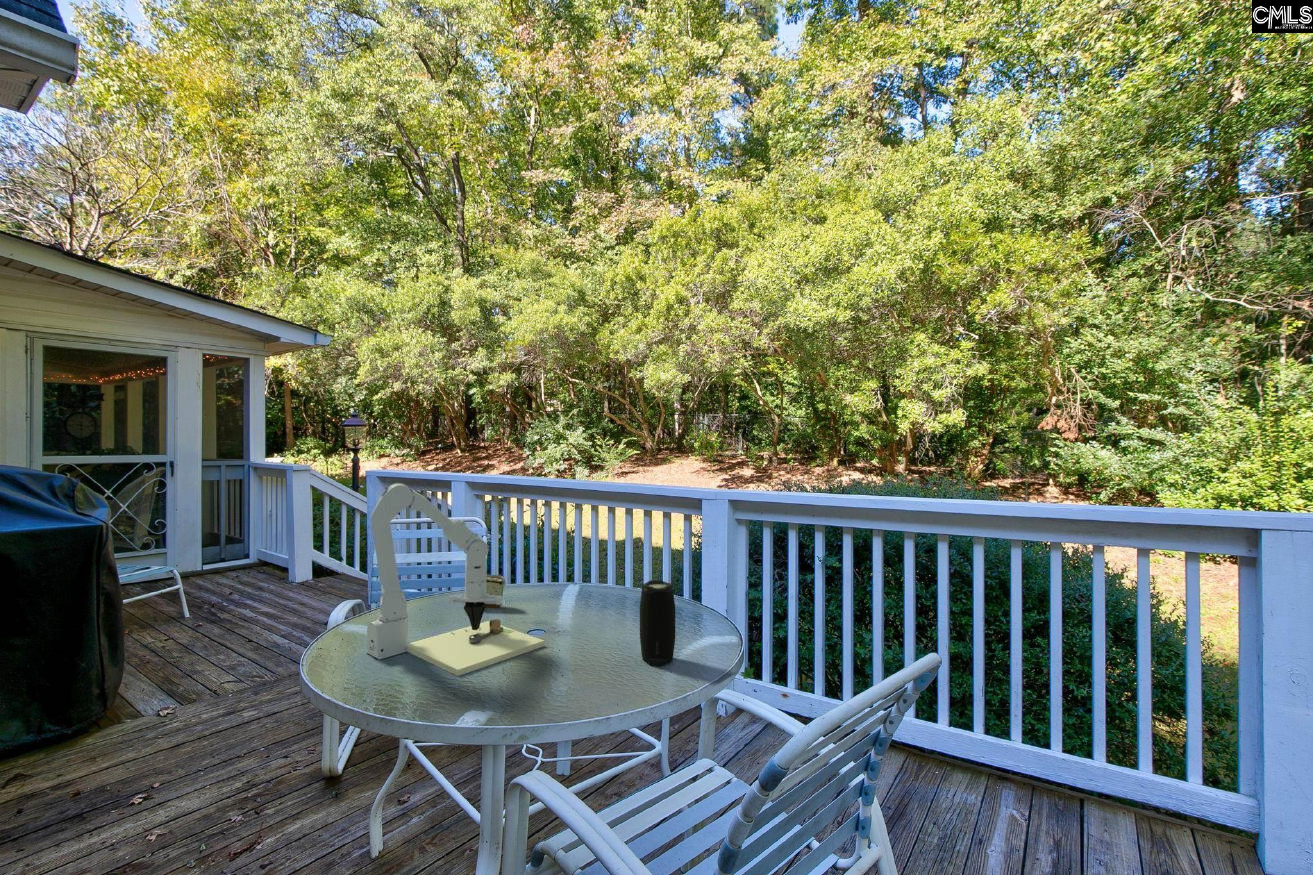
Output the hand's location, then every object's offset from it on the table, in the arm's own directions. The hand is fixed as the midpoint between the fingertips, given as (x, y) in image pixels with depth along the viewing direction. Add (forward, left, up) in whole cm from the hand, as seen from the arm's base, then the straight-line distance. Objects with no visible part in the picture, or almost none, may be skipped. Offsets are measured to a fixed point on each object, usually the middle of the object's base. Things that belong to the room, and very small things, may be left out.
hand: (475, 628), depth 166 cm
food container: (+21, +24, -3) cm, 31 cm away
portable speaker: (+21, -49, -3) cm, 54 cm away
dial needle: (0, -5, -1) cm, 5 cm away
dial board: (-4, -6, -3) cm, 8 cm away
